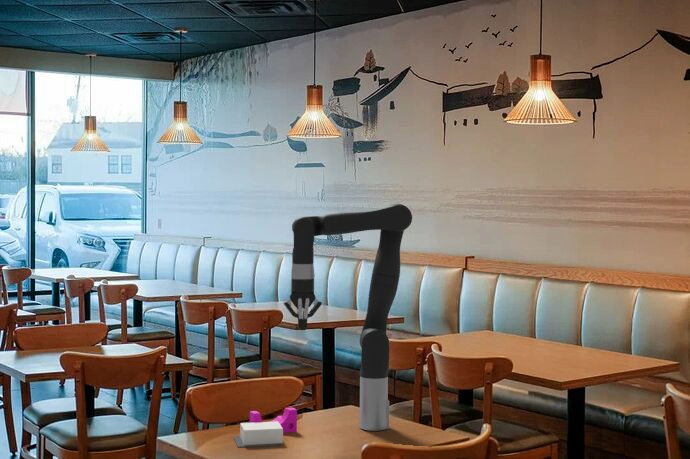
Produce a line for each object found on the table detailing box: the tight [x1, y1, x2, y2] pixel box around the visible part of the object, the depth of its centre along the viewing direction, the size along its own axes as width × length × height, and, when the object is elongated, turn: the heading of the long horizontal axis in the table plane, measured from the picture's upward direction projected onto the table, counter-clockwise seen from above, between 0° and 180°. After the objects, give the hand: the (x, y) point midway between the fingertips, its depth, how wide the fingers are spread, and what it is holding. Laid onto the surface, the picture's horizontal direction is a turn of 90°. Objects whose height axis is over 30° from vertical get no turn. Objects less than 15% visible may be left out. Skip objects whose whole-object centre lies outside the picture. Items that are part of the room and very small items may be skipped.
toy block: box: [249, 407, 298, 434], centre depth 295 cm, size 15×6×8 cm, turn 117°
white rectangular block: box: [239, 421, 284, 445], centre depth 283 cm, size 4×10×12 cm
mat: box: [232, 435, 283, 448], centre depth 282 cm, size 13×13×1 cm
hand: (302, 330), depth 297 cm, fingers closed
